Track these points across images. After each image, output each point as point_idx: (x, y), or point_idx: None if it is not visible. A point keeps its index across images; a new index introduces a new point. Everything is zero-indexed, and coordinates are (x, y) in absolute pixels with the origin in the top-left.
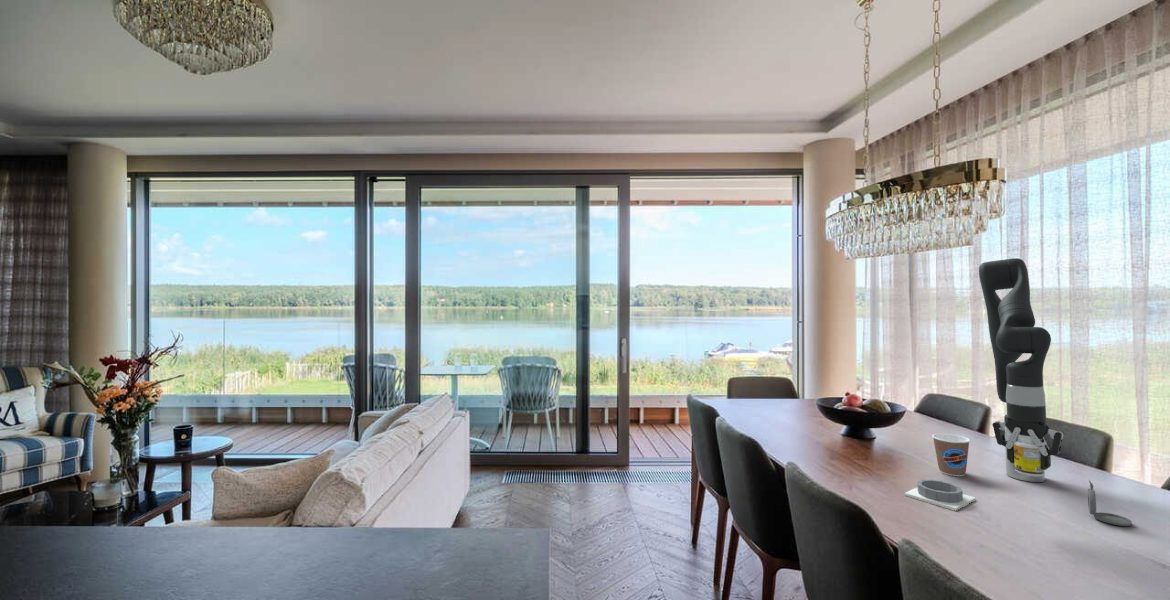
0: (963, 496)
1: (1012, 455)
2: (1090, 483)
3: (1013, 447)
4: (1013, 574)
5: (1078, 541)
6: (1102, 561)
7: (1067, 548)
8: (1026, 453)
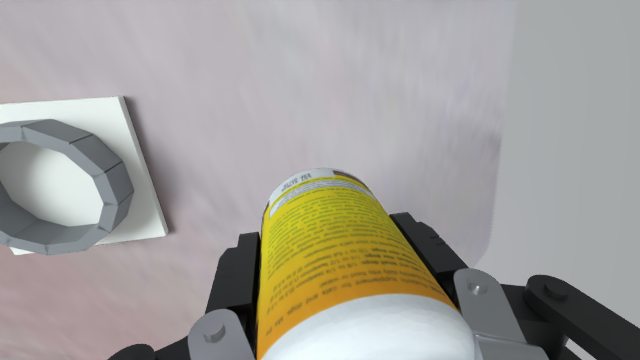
0: (96, 124)
1: None
2: None
3: (250, 344)
4: None
5: (390, 165)
6: (430, 222)
7: None
8: None
